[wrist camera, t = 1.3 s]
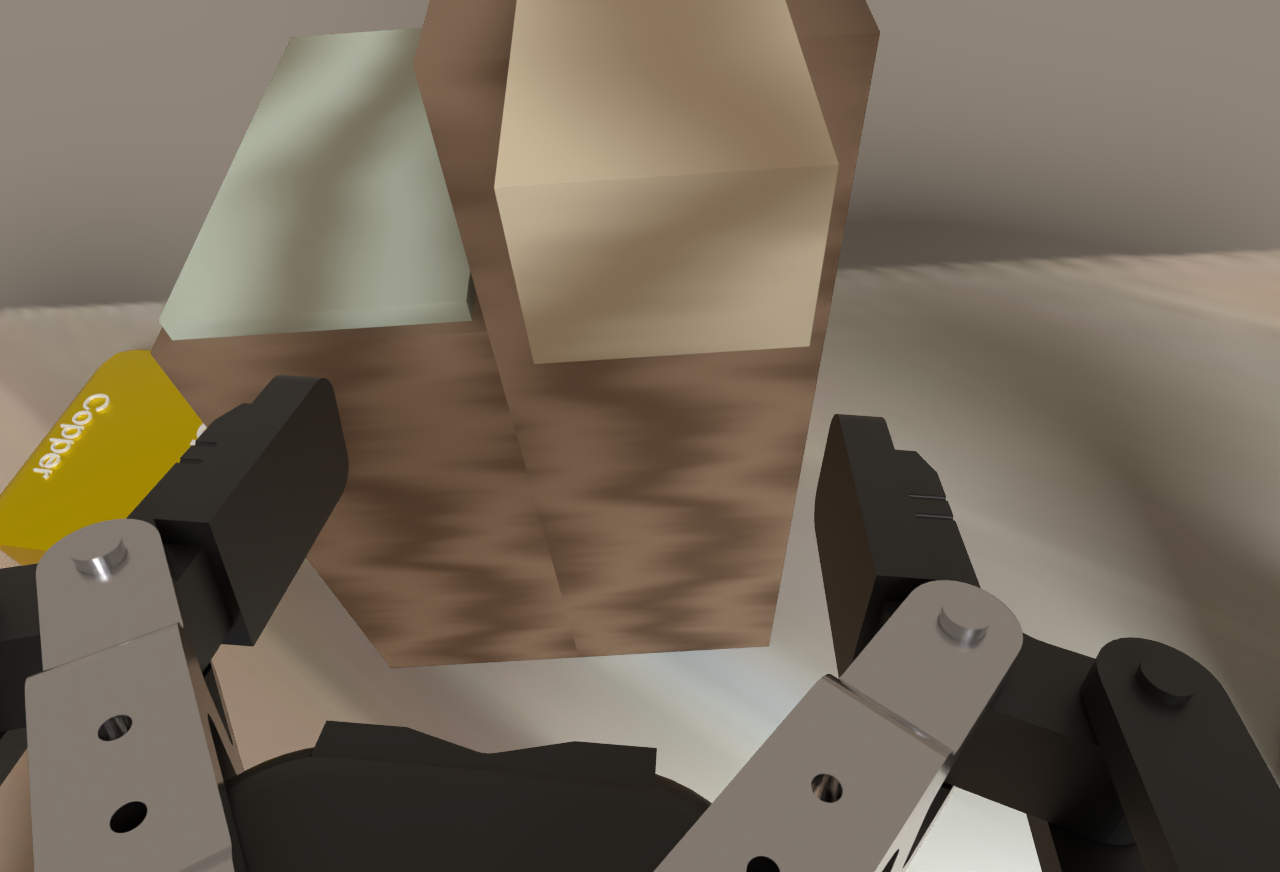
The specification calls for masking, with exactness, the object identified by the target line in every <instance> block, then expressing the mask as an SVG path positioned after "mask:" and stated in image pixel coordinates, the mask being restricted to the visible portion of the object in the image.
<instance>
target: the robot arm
mask: <svg viewBox="0 0 1280 872" xmlns="http://www.w3.org/2000/svg"><path fill="white" fill-rule="evenodd" d="M348 469H349V461H348V453H347V449H346V444H345V439H344V435H343V430H342V425H341V421H340V416H339V411H338V407H337V402H336V397H335V393H334V389H333V386H332V384H331V383H330V381H329V380H328V379H326V378H318V377H304V376H289V375H277V376H275V377H274V378H273V379H272V380H271V381H270V382H269V383H268V385H267V386H266V387H265V388H264V389H263V390H262V392H261V393H260V394H259V395H258V396H257V397H256V399H255V400H254V401H253V402H252V403H251V404H249V403H242V404H240V405H239V406H237V407H235V408H234V409H232V410H230V411H229V412H227V413H225V414H224V415H222V416H220V417H219V418H217V419H215V420H214V421H213V422H212V423H211V424H210V425H209V426H208V427H207V428H206V430H205V431H204V432H203V433H202V434H201V435H200V436H199V437H198V439H197V440H196V441H195V445H191V446H190V447H189V449H188V450H187V451H186V452H185V453H184V454H183V455H182V456H181V458H180V463H177V462H176V463H175V464H174V465H173V466H172V468H171V469H170V470H169V471H168V472H167V473H166V474H165V475H164V476H163V478H162V479H161V480H160V481H159V482H158V483H157V484H156V485H155V487H154V488H153V489H152V490H151V491H150V492H149V493H148V494H147V495H146V497H145V498H144V499H143V500H142V501H141V502H140V503H139V504H138V506H137V507H136V508H135V509H134V510H133V511H132V512H131V513H130V514H129V516H128V517H127V518H126V519H114V520H108V521H103V522H99V523H95V524H92V525H89V526H86V527H83V528H81V529H79V530H77V531H74V532H73V533H71V534H69V535H67V536H65V537H64V538H62V539H61V540H59V541H58V542H56V543H55V544H54V545H53V546H52V547H50V548H49V549H48V550H47V552H46V553H45V554H44V555H43V556H42V558H41V559H40V561H39V563H37V564H30V565H23V566H17V567H10V568H3V569H0V786H1V784H2V783H3V781H4V780H5V779H6V777H7V776H8V774H9V773H10V771H11V770H12V769H13V767H14V766H15V764H16V763H17V762H18V760H19V759H20V757H21V756H22V754H23V753H24V752H25V750H26V749H27V747H28V763H29V782H30V801H31V820H32V839H33V858H34V872H905V871H906V870H907V868H908V866H909V865H910V863H911V861H912V860H913V858H914V856H915V855H916V853H917V851H918V850H919V848H920V846H921V845H922V843H923V841H924V840H925V838H926V836H927V835H928V833H929V831H930V830H931V828H932V826H933V825H934V823H935V821H936V820H937V818H938V816H939V815H940V813H941V811H942V810H943V808H944V806H945V805H946V803H947V801H948V800H949V798H950V796H951V795H952V793H953V791H954V790H955V788H956V787H958V788H961V789H964V790H966V791H969V792H971V793H974V794H977V795H979V796H982V797H984V798H987V799H990V800H992V801H995V802H997V803H1000V804H1003V805H1005V806H1008V807H1010V808H1013V809H1016V810H1018V811H1021V812H1023V813H1026V814H1027V818H1028V822H1029V825H1030V829H1031V833H1032V836H1033V840H1034V844H1035V847H1036V851H1037V855H1038V858H1039V862H1040V866H1041V869H1042V872H1280V788H1279V787H1278V785H1277V783H1276V781H1275V779H1274V778H1273V776H1272V774H1271V772H1270V770H1269V769H1268V767H1267V765H1266V763H1265V761H1264V760H1263V758H1262V756H1261V754H1260V752H1259V751H1258V749H1257V747H1256V745H1255V743H1254V742H1253V740H1252V738H1251V736H1250V734H1249V733H1248V731H1247V729H1246V727H1245V725H1244V724H1243V722H1242V720H1241V718H1240V716H1239V715H1238V713H1237V711H1236V709H1235V707H1234V706H1233V704H1232V702H1231V700H1230V698H1229V697H1228V695H1227V693H1226V691H1225V690H1224V688H1223V687H1222V685H1221V684H1220V683H1219V682H1218V680H1217V679H1216V678H1215V677H1214V676H1213V675H1212V674H1211V673H1210V672H1209V671H1208V670H1207V669H1206V668H1205V667H1203V666H1202V665H1201V664H1199V663H1198V662H1197V661H1195V660H1194V659H1192V658H1191V657H1189V656H1188V655H1186V654H1184V653H1183V652H1181V651H1179V650H1177V649H1175V648H1173V647H1170V646H1168V645H1165V644H1163V643H1159V642H1156V641H1152V640H1148V639H1142V638H1120V639H1117V640H1113V641H1111V642H1109V643H1107V644H1106V645H1105V646H1104V647H1103V648H1101V650H1100V652H1099V654H1098V656H1097V657H1096V659H1094V658H1091V657H1088V656H1085V655H1082V654H1079V653H1076V652H1072V651H1069V650H1066V649H1063V648H1060V647H1057V646H1054V645H1050V644H1047V643H1045V642H1042V641H1039V640H1037V639H1034V638H1032V637H1030V636H1028V635H1026V634H1024V633H1023V632H1022V629H1021V626H1020V623H1019V621H1018V620H1017V618H1016V616H1015V615H1014V614H1013V612H1012V611H1011V610H1010V609H1009V608H1008V607H1007V606H1006V605H1005V604H1004V603H1003V602H1002V601H1000V600H999V599H998V598H996V597H995V596H993V595H992V594H990V593H988V592H987V591H985V590H983V589H981V588H980V585H979V582H978V580H977V577H976V575H975V572H974V569H973V567H972V564H971V561H970V559H969V556H968V553H967V551H966V548H965V545H964V543H963V540H962V538H961V535H960V532H959V530H958V527H957V524H956V522H955V521H954V520H953V514H952V511H951V508H950V506H949V503H948V501H946V495H945V493H944V490H943V487H942V485H941V482H940V479H939V477H938V474H937V472H936V471H935V470H934V469H933V468H932V467H931V466H930V465H929V464H928V463H927V462H926V461H925V460H924V459H923V458H922V457H921V456H920V455H919V454H918V453H917V452H916V451H904V450H895V449H894V446H893V443H892V440H891V436H890V433H889V430H888V427H887V424H886V421H885V419H884V418H883V417H871V416H856V415H842V414H835V415H834V417H833V419H832V421H831V425H830V429H829V434H828V438H827V443H826V448H825V453H824V458H823V462H822V467H821V472H820V477H819V481H818V486H817V491H816V498H815V512H814V521H815V532H816V538H817V545H818V551H819V557H820V563H821V569H822V576H823V582H824V588H825V594H826V600H827V607H828V613H829V619H830V625H831V631H832V638H833V644H834V650H835V656H836V662H837V669H838V675H839V678H838V679H837V678H836V677H834V676H833V675H831V674H827V675H825V676H823V677H822V678H821V679H820V680H818V681H817V682H816V684H815V685H814V686H813V687H812V688H811V689H810V690H809V691H808V693H807V694H806V695H805V696H804V697H803V698H802V700H801V701H800V702H799V703H798V704H797V705H796V707H795V708H794V709H793V710H792V711H791V712H790V714H789V715H788V716H787V717H786V718H785V719H784V720H783V722H782V723H781V724H780V725H779V726H778V727H777V729H776V730H775V731H774V732H773V733H772V734H771V736H770V737H769V738H768V739H767V740H766V741H765V743H764V744H763V745H762V746H761V747H760V748H759V750H758V751H757V752H756V753H755V754H754V755H753V757H752V758H751V759H750V760H749V761H748V762H747V764H746V765H745V766H744V767H743V768H742V769H741V770H740V772H739V773H738V774H737V775H736V776H735V777H734V779H733V780H732V781H731V782H730V783H729V784H728V786H727V787H726V788H725V789H724V790H723V791H722V793H721V794H720V795H719V796H718V797H717V798H716V800H715V801H714V802H713V803H710V802H709V801H708V800H706V799H705V798H703V797H702V796H700V795H699V794H697V793H696V792H694V791H693V790H691V789H689V788H687V787H685V786H683V785H681V784H679V783H677V782H675V781H673V780H671V779H668V778H665V777H662V776H660V775H657V774H655V769H656V752H657V748H648V747H636V746H624V745H612V744H600V743H588V742H576V741H574V742H567V743H560V744H554V745H547V746H540V747H533V748H527V749H520V750H513V751H507V752H500V753H491V754H487V753H480V752H476V751H473V750H471V749H468V748H465V747H462V746H459V745H456V744H453V743H450V742H448V741H445V740H442V739H439V738H436V737H433V736H430V735H427V734H425V733H422V732H419V731H416V730H413V729H410V728H407V727H397V726H385V725H373V724H361V723H349V722H337V721H326V723H325V725H324V728H323V730H322V732H321V734H320V736H319V739H318V741H317V743H316V745H315V747H313V748H307V749H303V750H299V751H295V752H291V753H287V754H284V755H281V756H279V757H276V758H273V759H270V760H268V761H265V762H263V763H261V764H258V765H256V766H254V767H252V768H250V769H248V770H246V771H244V768H243V765H242V762H241V758H240V755H239V751H238V748H237V744H236V740H235V737H234V733H233V730H232V726H231V723H230V719H229V716H228V712H227V709H226V705H225V702H224V698H223V694H222V691H221V687H220V684H219V680H218V677H217V673H216V670H215V668H214V665H213V663H212V661H211V659H212V657H213V656H214V654H215V653H216V651H217V649H218V648H219V646H220V645H221V644H229V645H242V646H254V645H255V643H256V641H257V640H258V638H259V636H260V634H261V633H262V631H263V629H264V628H265V626H266V624H267V622H268V621H269V619H270V617H271V616H272V614H273V612H274V610H275V609H276V607H277V605H278V604H279V602H280V600H281V598H282V597H283V595H284V593H285V592H286V590H287V588H288V586H289V585H290V583H291V581H292V580H293V578H294V576H295V575H296V573H297V571H298V569H299V568H300V566H301V564H302V563H303V561H304V559H305V557H306V556H307V554H308V552H309V551H310V549H311V547H312V545H313V544H314V542H315V540H316V539H317V537H318V535H319V533H320V532H321V530H322V528H323V527H324V525H325V523H326V521H327V520H328V518H329V516H330V515H331V513H332V511H333V510H334V508H335V506H336V504H337V503H338V501H339V499H340V498H341V496H342V494H343V492H344V489H345V486H346V483H347V478H348Z"/></svg>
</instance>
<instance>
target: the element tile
mask: <svg viewBox="0 0 1280 872" xmlns="http://www.w3.org/2000/svg"><path fill="white" fill-rule="evenodd" d="M151 351H152V350H131V351H126V352H120V353H117V354H115V355H114V356H113V357H111V358H110V359H109V360H107V361H106V362H105V363H103V364H102V365H101V366H100V367H99V368H98V369H97V371H96V372H95V373H94V374H93V376H92V377H91V378H90V379H89V381H88V382H87V383H86V385H85V386H84V387H83V388H82V390H81V391H80V392H79V394H78V395H77V396H76V398H75V399H74V400H73V401H72V403H71V404H70V405H69V407H68V408H67V409H66V411H65V412H64V413H63V414H62V416H61V417H60V418H59V420H58V421H57V422H56V423H55V425H54V426H53V427H52V429H51V430H50V431H49V433H48V434H47V435H46V436H45V438H44V439H43V440H42V442H41V443H40V444H39V445H38V447H37V448H36V449H35V451H34V452H33V453H32V455H31V456H30V457H29V458H28V460H27V461H26V462H25V464H24V465H23V466H22V468H21V469H20V470H19V471H18V473H17V474H16V475H15V477H14V478H13V479H12V480H11V482H10V483H9V484H8V486H7V487H6V488H5V490H4V491H3V492H2V493H1V495H0V550H2V551H3V552H4V553H6V554H7V555H8V556H10V557H11V558H12V559H14V560H15V561H16V562H18V563H19V564H20V565H22V566H23V565H30V564H37V563H39V561H40V559H41V558H42V556H43V555H44V554H45V553H46V552H47V550H48V549H49V548H50V547H52V546H53V545H54V544H55V543H56V542H58V541H59V540H61V539H62V538H64V537H65V536H67V535H69V534H71V533H73V532H74V531H77V530H79V529H81V528H83V527H86V526H89V525H92V524H95V523H99V522H103V521H108V520H114V519H126V518H127V517H128V516H129V514H130V513H131V512H132V511H133V510H134V509H135V508H136V507H137V506H138V504H139V503H140V502H141V501H142V500H143V499H144V498H145V497H146V495H147V494H148V493H149V492H150V491H151V490H152V489H153V488H154V487H155V485H156V484H157V483H158V482H159V481H160V480H161V479H162V478H163V476H164V475H165V474H166V473H167V472H168V471H169V470H170V469H171V468H172V466H173V465H174V464H175V463H176V462H177V463H180V458H181V456H182V455H183V454H184V453H185V452H186V451H187V450H188V449H189V447H190V446H191V445H195V441H196V440H197V439H198V437H199V436H200V435H201V434H202V433H203V432H204V431H205V430H206V428H207V427H206V426H205V425H204V423H203V422H202V421H201V419H200V418H199V417H198V415H197V414H196V413H195V412H194V410H193V409H192V408H191V406H190V405H189V404H188V402H187V401H186V400H185V398H184V397H183V396H182V395H181V393H180V392H179V391H178V389H177V388H176V387H175V385H174V384H173V383H172V381H171V380H170V379H169V378H168V376H167V375H166V374H165V372H164V371H163V370H162V368H161V367H160V366H159V364H158V363H157V362H156V361H155V359H154V358H153V357H152V355H151V354H150V353H151Z"/></svg>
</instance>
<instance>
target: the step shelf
mask: <svg viewBox="0 0 1280 872" xmlns="http://www.w3.org/2000/svg"><path fill="white" fill-rule="evenodd" d="M785 1H786V4H787V7H788V10H789V13H790V16H791V19H792V22H793V25H794V28H795V31H796V34H797V38H798V41H799V44H800V47H801V50H802V53H803V56H804V59H805V62H806V65H807V68H808V71H809V74H810V77H811V80H812V84H813V87H814V90H815V93H816V96H817V99H818V102H819V105H820V108H821V111H822V114H823V117H824V120H825V123H826V126H827V130H828V133H829V136H830V139H831V142H832V145H833V148H834V151H835V154H836V157H837V160H838V163H839V167H838V173H837V179H836V185H835V191H834V197H833V204H832V210H831V216H830V222H829V228H828V235H827V241H826V247H825V253H824V259H823V265H822V272H821V278H820V284H819V290H818V296H817V303H816V309H815V315H814V321H813V327H812V333H811V340H810V346H808V347H792V348H776V349H761V350H745V351H729V352H714V353H698V354H683V355H667V356H651V357H636V358H620V359H605V360H589V361H573V362H558V363H542V364H534V361H533V357H532V352H531V348H530V344H529V339H528V335H527V331H526V326H525V322H524V317H523V313H522V309H521V304H520V300H519V295H518V291H517V287H516V282H515V278H514V273H513V269H512V265H511V260H510V256H509V251H508V247H507V243H506V238H505V234H504V229H503V225H502V221H501V216H500V212H499V208H498V203H497V199H496V194H495V190H494V184H495V176H496V167H497V159H498V151H499V143H500V134H501V126H502V118H503V110H504V101H505V93H506V85H507V77H508V68H509V60H510V52H511V44H512V35H513V27H514V19H515V11H516V2H517V0H430V2H429V6H428V9H427V14H426V17H425V21H424V24H423V28H416V29H402V30H387V31H373V32H359V33H345V34H331V35H318V36H304V37H291V39H290V41H289V43H288V45H287V47H286V49H285V51H284V54H283V56H282V58H281V60H280V62H279V64H278V66H277V68H276V71H275V73H274V75H273V77H272V79H271V81H270V83H269V85H268V88H267V90H266V92H265V94H264V96H263V98H262V100H261V103H260V105H259V107H258V109H257V111H256V113H255V116H254V118H253V120H252V122H251V124H250V126H249V128H248V131H247V132H246V135H245V137H244V139H243V141H242V143H241V145H240V148H239V150H238V152H237V154H236V156H235V158H234V160H233V162H232V165H231V167H230V169H229V171H228V173H227V175H226V177H225V180H224V182H223V184H222V186H221V188H220V190H219V192H218V194H217V197H216V199H215V201H214V203H213V205H212V207H211V209H210V212H209V214H208V216H207V218H206V220H205V222H204V224H203V227H202V229H201V231H200V233H199V235H198V237H197V239H196V242H195V244H194V246H193V248H192V250H191V252H190V254H189V256H188V259H187V261H186V263H185V265H184V267H183V269H182V271H181V274H180V276H179V278H178V280H177V282H176V284H175V287H174V288H173V291H172V293H171V295H170V297H169V299H168V301H167V303H166V306H165V308H164V310H163V312H162V314H161V316H160V318H159V323H160V324H161V325H162V329H161V331H160V333H159V335H158V338H157V340H156V342H155V344H154V346H153V349H152V351H151V353H150V354H151V355H152V357H153V358H154V359H155V361H156V362H157V363H158V364H159V366H160V367H161V368H162V370H163V371H164V372H165V374H166V375H167V376H168V378H169V379H170V380H171V381H172V383H173V384H174V385H175V387H176V388H177V389H178V391H179V392H180V393H181V395H182V396H183V397H184V398H185V400H186V401H187V402H188V404H189V405H190V406H191V408H192V409H193V410H194V412H195V413H196V414H197V415H198V417H199V418H200V419H201V421H202V422H203V423H204V425H205V426H206V427H208V426H209V425H210V424H211V423H212V422H213V421H214V420H215V419H217V418H219V417H220V416H222V415H224V414H225V413H227V412H229V411H230V410H232V409H234V408H235V407H237V406H239V405H240V404H242V403H249V404H251V403H252V402H253V401H254V400H255V399H256V397H257V396H258V395H259V394H260V393H261V392H262V390H263V389H264V388H265V387H266V386H267V385H268V383H269V382H270V381H271V380H272V379H273V378H274V377H275V376H277V375H289V376H304V377H318V378H326V379H328V380H329V381H330V383H331V384H332V386H333V389H334V393H335V397H336V402H337V407H338V411H339V416H340V421H341V425H342V430H343V435H344V439H345V444H346V449H347V453H348V461H349V469H348V478H347V483H346V486H345V489H344V492H343V494H342V496H341V498H340V499H339V501H338V503H337V504H336V506H335V508H334V510H333V511H332V513H331V515H330V516H329V518H328V520H327V521H326V523H325V525H324V527H323V528H322V530H321V532H320V533H319V535H318V537H317V539H316V540H315V542H314V544H313V545H312V547H311V549H310V551H309V552H308V554H307V556H306V558H307V559H308V561H309V562H310V563H311V564H312V566H313V567H314V568H315V570H316V571H317V572H318V574H319V575H320V576H321V578H322V579H323V580H324V581H325V583H326V584H327V585H328V587H329V588H330V589H331V591H332V592H333V593H334V595H335V596H336V597H337V598H338V600H339V601H340V602H341V604H342V605H343V606H344V608H345V609H346V610H347V612H348V613H349V614H350V615H351V617H352V618H353V619H354V621H355V622H356V623H357V625H358V626H359V627H360V629H361V630H362V631H363V632H364V634H365V635H366V636H367V638H368V639H369V640H370V642H371V643H372V644H373V645H374V647H375V648H376V649H377V651H378V652H379V653H380V655H381V656H382V657H383V659H384V660H385V661H386V662H387V664H388V665H389V666H390V668H398V667H415V666H432V665H450V664H467V663H484V662H502V661H519V660H536V659H554V658H571V657H588V656H606V655H623V654H641V653H658V652H675V651H693V650H710V649H727V648H745V647H762V646H769V643H770V637H771V632H772V626H773V621H774V615H775V610H776V604H777V599H778V593H779V588H780V582H781V577H782V571H783V566H784V560H785V555H786V549H787V543H788V538H789V532H790V527H791V521H792V516H793V510H794V505H795V499H796V494H797V488H798V483H799V477H800V472H801V466H802V461H803V455H804V450H805V444H806V439H807V433H808V427H809V422H810V416H811V411H812V405H813V400H814V394H815V389H816V383H817V378H818V372H819V367H820V361H821V356H822V350H823V345H824V339H825V334H826V328H827V323H828V317H829V311H830V306H831V300H832V295H833V289H834V284H835V278H836V273H837V267H838V261H839V256H840V251H841V245H842V239H843V234H844V228H845V223H846V218H847V212H848V207H849V201H850V195H851V190H852V184H853V179H854V173H855V168H856V162H857V157H858V151H859V146H860V140H861V135H862V129H863V124H864V118H865V113H866V106H867V102H868V96H869V90H870V85H871V79H872V73H873V68H874V62H875V57H876V51H877V46H878V41H879V35H880V31H879V29H878V27H877V25H876V22H875V20H874V18H873V16H872V14H871V12H870V9H869V7H868V5H867V3H866V1H865V0H785Z"/></svg>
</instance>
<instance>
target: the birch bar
mask: <svg viewBox="0 0 1280 872" xmlns="http://www.w3.org/2000/svg"><path fill="white" fill-rule="evenodd" d="M838 167H839V163H838V160H837V157H836V154H835V151H834V148H833V145H832V142H831V139H830V136H829V133H828V130H827V126H826V123H825V120H824V117H823V114H822V111H821V108H820V105H819V102H818V99H817V96H816V93H815V90H814V87H813V84H812V80H811V77H810V74H809V71H808V68H807V65H806V62H805V59H804V56H803V53H802V50H801V47H800V44H799V41H798V38H797V34H796V31H795V28H794V25H793V22H792V19H791V16H790V13H789V10H788V7H787V4H786V1H785V0H517V2H516V11H515V19H514V27H513V35H512V44H511V52H510V60H509V68H508V77H507V85H506V93H505V101H504V110H503V118H502V126H501V134H500V143H499V151H498V159H497V167H496V176H495V184H494V190H495V194H496V199H497V203H498V208H499V212H500V216H501V221H502V225H503V229H504V234H505V238H506V243H507V247H508V251H509V256H510V260H511V265H512V269H513V273H514V278H515V282H516V287H517V291H518V295H519V300H520V304H521V309H522V313H523V317H524V322H525V326H526V331H527V335H528V339H529V344H530V348H531V352H532V357H533V361H534V364H542V363H558V362H573V361H589V360H605V359H620V358H636V357H651V356H667V355H683V354H698V353H714V352H729V351H745V350H761V349H776V348H792V347H808V346H810V340H811V333H812V327H813V321H814V315H815V309H816V303H817V296H818V290H819V284H820V278H821V272H822V265H823V259H824V253H825V247H826V241H827V235H828V228H829V222H830V216H831V210H832V204H833V197H834V191H835V185H836V179H837V173H838Z"/></svg>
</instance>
